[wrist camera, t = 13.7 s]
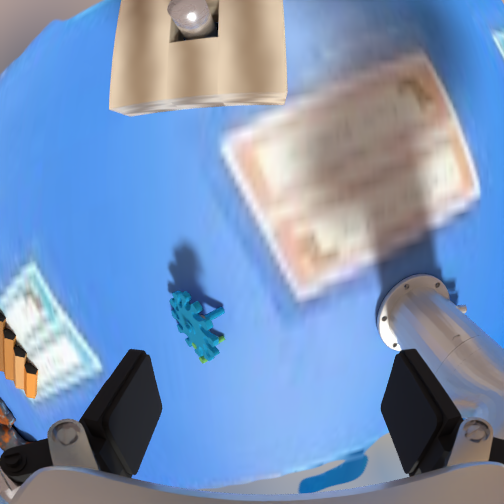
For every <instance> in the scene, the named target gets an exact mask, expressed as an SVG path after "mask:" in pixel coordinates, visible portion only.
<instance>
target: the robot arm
mask: <svg viewBox="0 0 504 504" xmlns="http://www.w3.org/2000/svg"><path fill="white" fill-rule="evenodd" d="M466 311H467V308H466V305H458V306H456V305H455V304H454V303H453V302H452V301H450V297H449V293H448V290H447V288H446V286H445V285H444V284H443V283H442V282H441V281H440V280H439V279H437V278H436V277H434V276H432V275H428V274H417V275H413V276H410V277H408V278H405V279H404V280H402V281H401V282H399V283H398V284H396V285H395V286H394V287H393V288H392V289H391V290H390V292H389V293H388V294H387V295H386V297H385V298H384V300H383V302H382V304H381V306H380V309H379V312H378V317H377V328H378V332H379V335H380V337H381V339H382V340H383V342H384V343H385V344H386V345H387V346H388V347H390V348H391V349H393V350H397V351H400V353H399V354H397V355H396V356H395V360H394V363H393V367H392V371H391V374H390V377H389V381H388V384H387V387H386V391H385V394H384V397H383V400H382V403H381V412H382V415H383V417H384V420H385V422H386V425H387V427H388V430H389V432H390V435H391V438H392V440H393V443H394V445H395V448H396V451H397V453H398V456H399V458H400V461H401V464H402V467H403V469H404V472H405V473H406V474H408V473H409V476H410V477H407V478H403V479H399V480H394V481H390V482H385V483H380V484H375V485H371V486H365V487H358V488H352V489H345V490H337V491H328V492H318V493H305V494H285V495H284V494H283V495H282V494H281V495H255V494H233V493H219V492H208V491H200V490H192V489H185V488H178V487H172V486H167V485H161V484H156V483H151V482H146V481H141V480H137V479H133V478H131V477H132V474H133V475H136V474H137V472H138V470H139V467H140V464H141V462H142V459H143V457H144V454H145V452H146V449H147V447H148V444H149V442H150V439H151V437H152V434H153V432H154V430H155V427H156V425H157V422H158V420H159V417H160V415H161V412H162V403H161V399H160V395H159V392H158V388H157V384H156V380H155V376H154V371H153V367H152V363H151V358H150V356H149V355H146V352H145V351H143V350H135V349H130V350H129V351H128V352H127V353H126V355H125V356H124V358H123V359H122V361H121V362H120V363H119V365H118V366H117V368H116V369H115V370H114V372H113V373H112V375H111V376H110V378H109V379H108V380H107V381H106V382H105V384H104V385H103V387H102V388H101V389H100V391H99V392H98V394H97V395H96V397H95V398H94V400H93V401H92V403H91V404H90V406H89V407H88V408H87V410H86V411H85V413H84V414H83V416H82V417H81V419H80V420H79V422H78V421H76V420H73V419H63V420H60V421H57V422H56V423H54V424H53V425H52V426H51V427H50V428H49V431H48V438H47V439H43V440H39V441H36V442H32V443H28V444H24V445H20V446H16V447H12V448H9V449H7V450H6V451H4V452H3V454H2V455H1V458H0V504H504V349H503V348H502V347H501V346H500V345H499V344H498V343H497V342H495V341H494V340H493V339H492V338H491V337H490V336H488V335H487V334H486V333H485V332H484V331H483V330H482V329H481V328H480V327H478V326H477V325H476V324H475V323H474V322H473V321H472V320H470V319H469V318H468V317H467V316H466V315H465V313H466ZM462 418H467V419H465V420H463V419H462Z"/></svg>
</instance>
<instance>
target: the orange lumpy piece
mask: <svg viewBox="0 0 504 504" xmlns="http://www.w3.org/2000/svg"><path fill="white" fill-rule="evenodd" d="M15 421H16V419H15V418H14V417H13V415H12V413H11V412H9V410H8V409H7V407H6V405H5V403H4V401H3V400H1V399H0V448H1V449H2V450H4V451H6V450H7V449H9V448H12V447H16V446H20V445H24V444H28V443H32V442H27V441H25V440H24V439H23V438H22V437H21V436H20V435H19V434H18V433H17V432H16V431H15V429H14V428H13V427H12V425H13V423H14V422H15Z"/></svg>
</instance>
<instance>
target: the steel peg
mask: <svg viewBox="0 0 504 504" xmlns="http://www.w3.org/2000/svg"><path fill="white" fill-rule="evenodd" d="M167 11H168V14H169V15H170V17H171V18H172V19H173V21H174V22H175V24H176V25H177V27H178V28H179V30H180V31H181V33H182V34H183V36H184V37H185V39H186V40H194V39H202V38H212V37H218V31H217V28H216V26H215V23H214V20H213V18H212V15H211V13H210V10H209V8H208V5H207V2H206V0H171V1H170V2H169V4H168V7H167Z"/></svg>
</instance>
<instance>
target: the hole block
mask: <svg viewBox="0 0 504 504" xmlns="http://www.w3.org/2000/svg"><path fill="white" fill-rule="evenodd" d="M170 1H171V0H121V5H120V11H119V16H118V22H117V29H116V36H115V43H114V52H113V61H112V71H111V84H110V100H109V109H110V110H113V111H116V112H119V113H121V114H124V115H127V116H130V117H131V116H137V115H144V114H150V113H157V112H165V111H173V110H182V109H192V108H204V107H218V106H238V105H284V104H285V100H286V96H287V68H286V46H285V27H284V11H283V0H206V2H207V5H208V8H209V10H210V13H211V15H212V18H213V20H214V23H216V22H219V23H218V37H212V38H202V39H194V40H186V41H184V36H183V34H182V33H181V31H180V30H179V28H178V27H177V25H176V24H175V22H174V21H173V19H172V18H171V17H170V15H169V14H168V11H167V7H168V4H169V2H170Z"/></svg>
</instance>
